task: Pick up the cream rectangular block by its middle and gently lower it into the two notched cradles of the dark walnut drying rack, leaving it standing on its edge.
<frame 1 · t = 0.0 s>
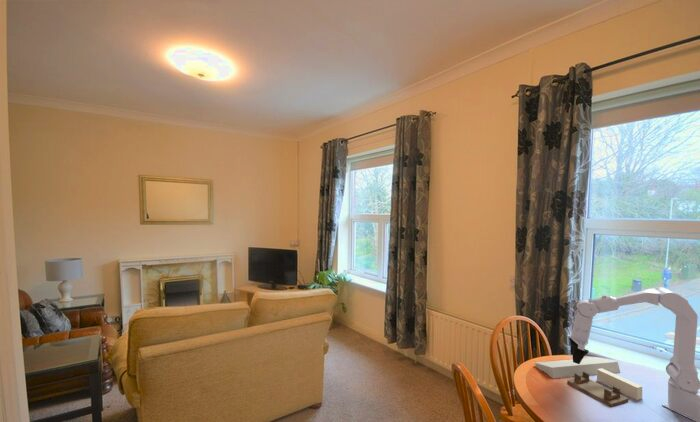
hand: (574, 358, 124), 11 cm above the table, tool pointing down, fingers open, 7 cm apart
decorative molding: (576, 370, 135), on the table
walnut rack: (596, 391, 118), on the table
cream rectangular block: (618, 389, 120), on the table
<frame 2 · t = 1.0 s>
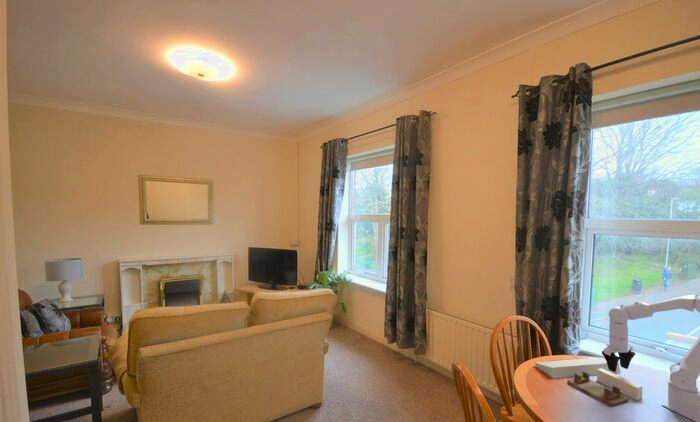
hand: (618, 369, 120), 8 cm above the table, tool pointing down, fingers open, 7 cm apart
nothing on the table moved.
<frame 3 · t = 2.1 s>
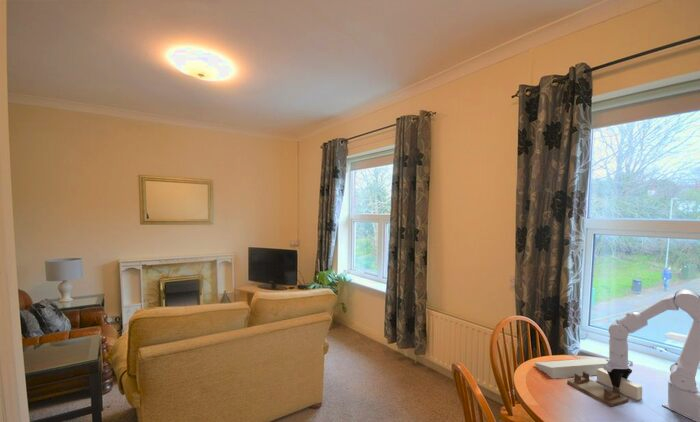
hand: (618, 385, 120), 1 cm above the table, tool pointing down, fingers closed on cream rectangular block, 3 cm apart
cream rectangular block: (618, 389, 120), on the table, touching gripper
everything else where it was.
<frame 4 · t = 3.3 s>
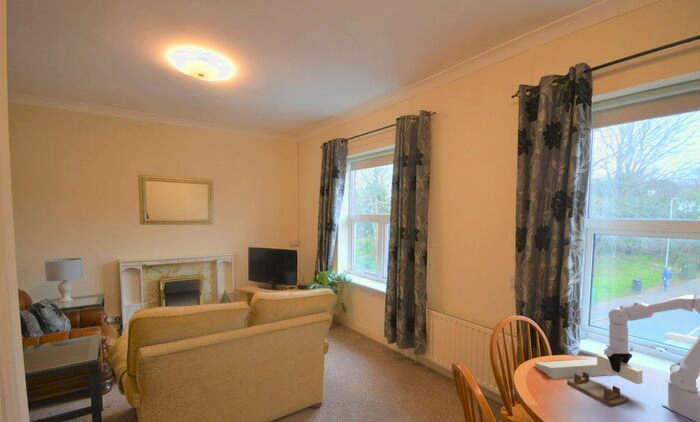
hand: (618, 370, 120), 8 cm above the table, tool pointing down, fingers closed on cream rectangular block, 3 cm apart
cream rectangular block: (618, 374, 120), point 6 cm above the table, touching gripper
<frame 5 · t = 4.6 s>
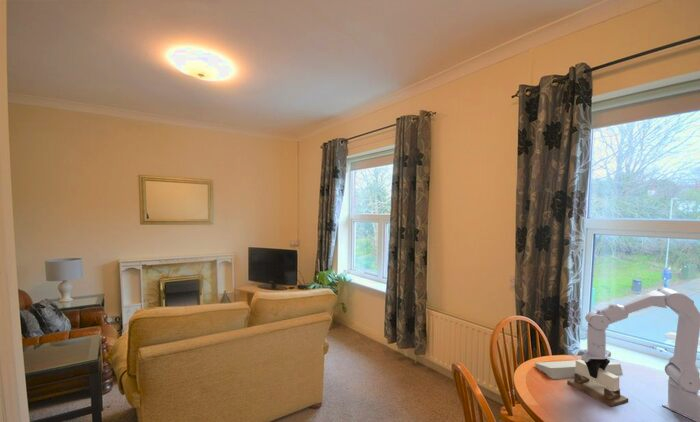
hand: (596, 376, 118), 6 cm above the table, tool pointing down, fingers closed on cream rectangular block, 3 cm apart
cream rectangular block: (596, 380, 118), point 5 cm above the table, touching gripper
when the fingers open (5 cm above the table, at t = 5.1 s): cream rectangular block stays where it is, resting on walnut rack.
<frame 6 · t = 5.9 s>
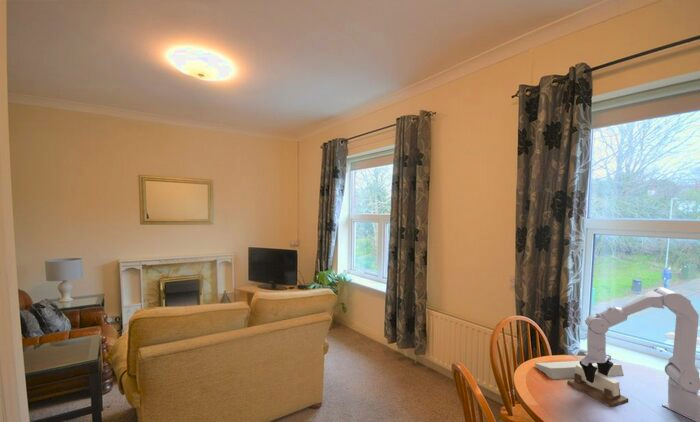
hand: (596, 379, 118), 5 cm above the table, tool pointing down, fingers open, 7 cm apart
cream rectangular block: (596, 385, 118), point 3 cm above the table, touching walnut rack
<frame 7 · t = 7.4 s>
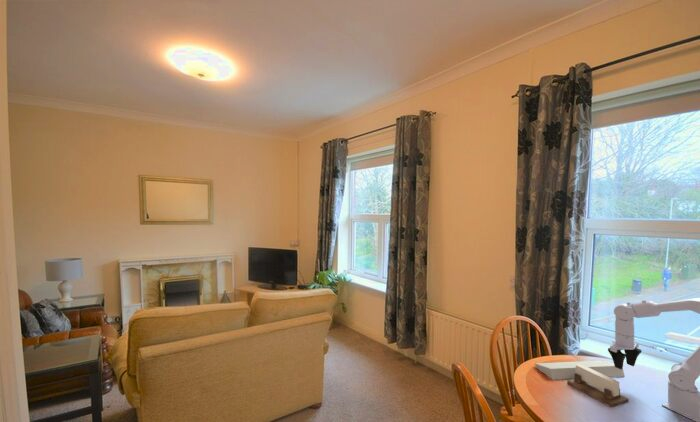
hand: (624, 366, 120), 9 cm above the table, tool pointing down, fingers open, 7 cm apart
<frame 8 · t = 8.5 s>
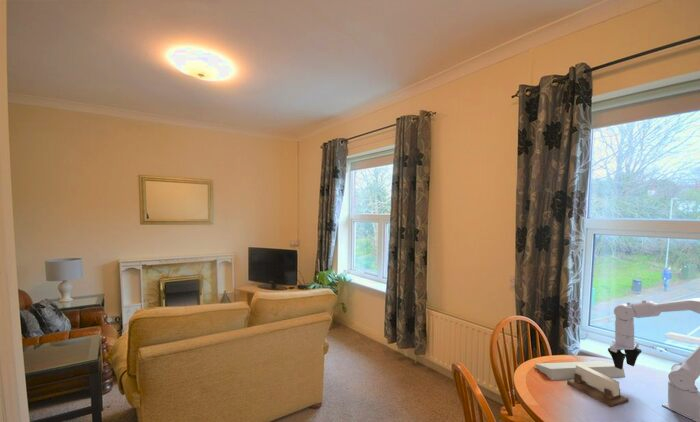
hand: (624, 366, 120), 9 cm above the table, tool pointing down, fingers open, 7 cm apart
at the end: cream rectangular block 0.0 cm off-centre on the walnut rack, point 2.7 cm above the walnut rack's base; cream rectangular block tilted 0°; the gripper is holding nothing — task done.
